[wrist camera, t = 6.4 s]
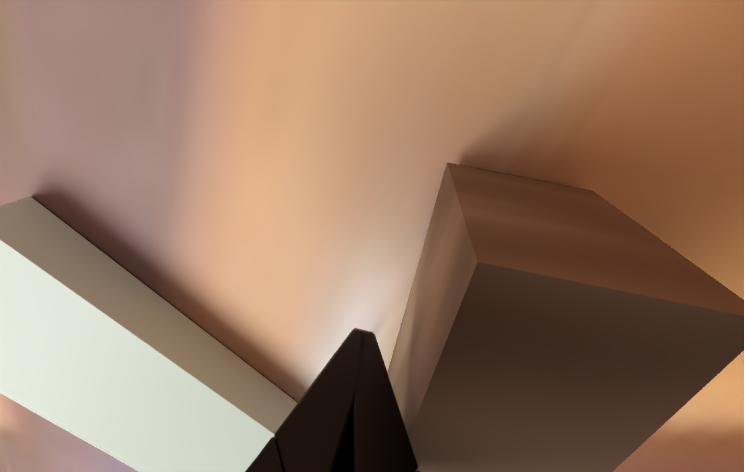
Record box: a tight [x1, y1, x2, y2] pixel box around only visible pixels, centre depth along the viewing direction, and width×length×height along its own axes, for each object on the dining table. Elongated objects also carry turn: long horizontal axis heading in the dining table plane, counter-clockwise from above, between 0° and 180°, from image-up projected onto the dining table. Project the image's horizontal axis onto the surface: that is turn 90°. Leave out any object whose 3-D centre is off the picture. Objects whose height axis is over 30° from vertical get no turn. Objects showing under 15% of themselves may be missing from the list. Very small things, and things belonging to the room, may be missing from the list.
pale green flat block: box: [0, 196, 297, 472], centre depth 16 cm, size 20×10×2 cm, turn 40°
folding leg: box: [388, 163, 744, 472], centre depth 10 cm, size 16×4×5 cm, turn 171°
